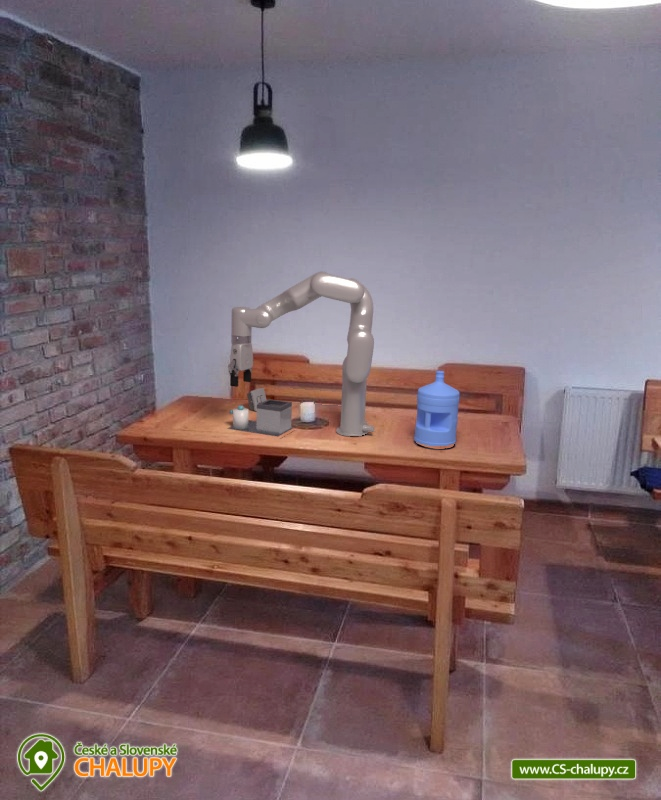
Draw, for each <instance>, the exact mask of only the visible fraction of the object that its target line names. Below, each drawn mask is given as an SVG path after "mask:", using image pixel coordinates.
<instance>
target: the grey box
mask: <svg viewBox="0 0 661 800" xmlns="http://www.w3.org/2000/svg"><path fill="white" fill-rule="evenodd" d="M292 405H293V403H292V402H291V401H286V400H285V401H284V400H278V399H270V398H269V399H266V401H264V402H261V403H259V404H257V412H256V420H251V419H249V427H248V428H246V429H235V428H233V425H232V426H230V427H227V428H226V429H227V430H232V431H233V430H234V431H238V432H247V433H253V434H258V435H266V436H271V437H280V436H282V435H284V434H286V433H287V432H289V431H291V430H292V429H295V426H292V416H293V415H292V409H293V406H292ZM295 431H296V430H293V431H291V432H289V433H287V434H286V435H287V436H288V435H290V434H292V433H293V432H295ZM286 435H284V436H282V437H281V439H283V438H284V437H286Z"/></svg>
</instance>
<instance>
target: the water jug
mask: <svg viewBox="0 0 661 800" xmlns="http://www.w3.org/2000/svg"><path fill="white" fill-rule="evenodd" d="M444 379H445V371H443V370H436V371H435V380H434V382H431V383H428V384H427V385H423V386H421V387H419V388H418V390H417V394H416V407H417V408H416V409H417V410H416V422H415V427H414V437H413V441H414V440H415V441H416V442H417V443H420V444H424V445H429V446H447V445H451V444H454V443H455V442H456V443H457V439H456V438H457V429H458V428H457V427H458V420H459V418H458V416H459V404H460V394H461V393H460V391H459V390H458V389H456V388H454V387H452V386H451V385H449V384H447V383H445V380H444Z"/></svg>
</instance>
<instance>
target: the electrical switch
mask: <svg viewBox="0 0 661 800" xmlns="http://www.w3.org/2000/svg"><path fill="white" fill-rule="evenodd" d="M246 398H247V400H248V405H249V410H250V411H254V412H255V411H257V404H259V403H261V402H264V401H266V400H267V396H266V391H265V388H264V387H260V388H256V389H253V390H250V392H247V393H246Z"/></svg>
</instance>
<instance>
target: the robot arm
mask: <svg viewBox="0 0 661 800" xmlns="http://www.w3.org/2000/svg"><path fill="white" fill-rule="evenodd" d="M321 297H323V298H325V299H326V298H327V299H331V300H335V301H339V302H343V303H348V304H349V305H350V316H349V317H350V318H349V326H348V332H347V336H346V337H347V338H346V341H347V352H346V356H345V358H344V359H343V362H342V367H341V369H342V370H341V374H342V375H341V378H342V379H341V381H342V382H341V383H342V385H341V404H340V405H341V406H340V407H341V409H340V426H339V427H337V428H336V430H335V431H336V433H337V434H338V435H339V436H345V437H350V436H359V437H363V436H362V435H364V436H366V435H365V434H367V433H368V434H369V432H370V433H374V432H375V427H374V425H369V424H368V421H366V404H367V402H366V401H367V388H368V387H367V385H368V384H367V381H368V380H367V379H368V377H369V376H370V373H371V368H372V363H373V362H372V361H373V355H374V347H375V346H374V345H375V339H374V336H373V334H372V327H373V318H374V302H373V298H372V296H371V294H370V291H369V289H368V288H367V287H366V286H365V285H364V284H363V283H361V282H360V281H359V280H358V279H356V278H346V277H342V276H338V275H334V274H331V273H328V272H327V271H317V272H315V273H313V274H312V275H310V276H308V277H306V278H305V279H303V280H301V281H300V282H298V283H296V284H294V285H292V286H291V287H289V288H288V289H286V290H284V291H283V292H282V293H280V294H278V295H277V296H275V297H273V298H271V299H269V300H268V301H266V302H264V303H263V304H261V305H259V306H258V307H256V308H250V307H246V306H235V307H234V306H233V308H232V309H231V334H230V335H231V342H230V344H231V346H230V347H231V349H230V356H229V357H230V360H229V361H230V362H229V364H228V365H227V368H228V373H229V376H230V380H229V381H230V383H229V384H230V386H231V387H236V388H238V387H239V372H240V371H241V372H242V373H243V382H244V383H245V382H246V383H252V371H253V370H252V369H253V367H254V352H253V343H252V328H256V329H265V328H268V327H269V326H270V325H271V323H272V322H273V321H275V320H276V319H278V318H281V317H283V316H284V315H286V314H288V313H290V312H293V311H298V310H299V309H302V308H304V307H306V306H307V305H309V304H311V303H312V302H314V301H316V300H317V299H319V298H321ZM368 434H367V435H368Z"/></svg>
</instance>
